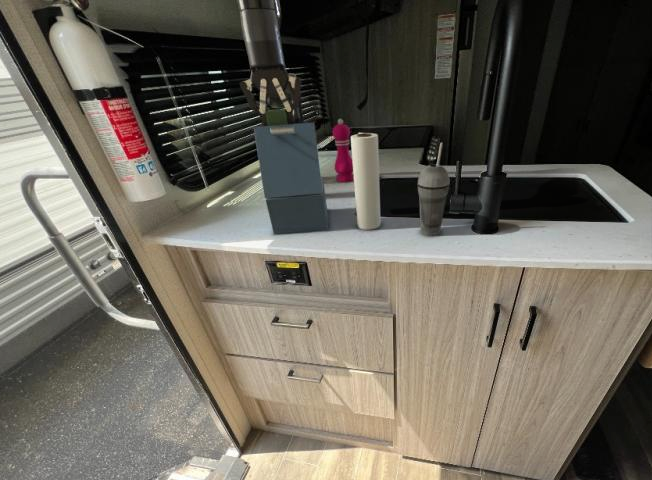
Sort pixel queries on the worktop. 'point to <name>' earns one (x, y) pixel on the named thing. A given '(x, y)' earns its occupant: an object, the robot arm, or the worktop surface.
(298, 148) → the freezer lid
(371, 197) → the paper towel roll
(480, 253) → the worktop surface
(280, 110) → the green cube
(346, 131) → the pepper mill
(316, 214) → the freezer
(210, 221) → the worktop surface
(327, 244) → the worktop surface
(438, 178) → the beverage cup
